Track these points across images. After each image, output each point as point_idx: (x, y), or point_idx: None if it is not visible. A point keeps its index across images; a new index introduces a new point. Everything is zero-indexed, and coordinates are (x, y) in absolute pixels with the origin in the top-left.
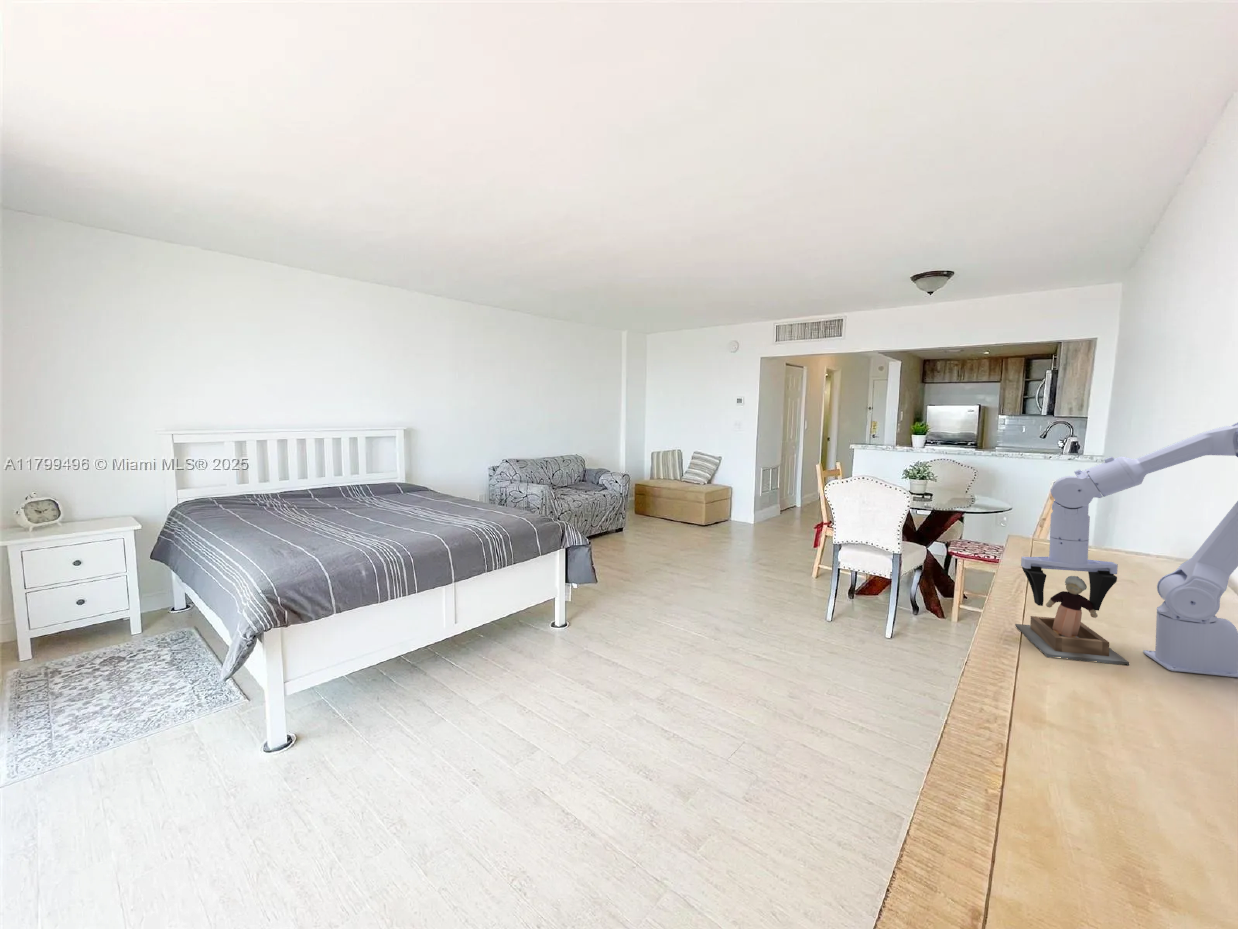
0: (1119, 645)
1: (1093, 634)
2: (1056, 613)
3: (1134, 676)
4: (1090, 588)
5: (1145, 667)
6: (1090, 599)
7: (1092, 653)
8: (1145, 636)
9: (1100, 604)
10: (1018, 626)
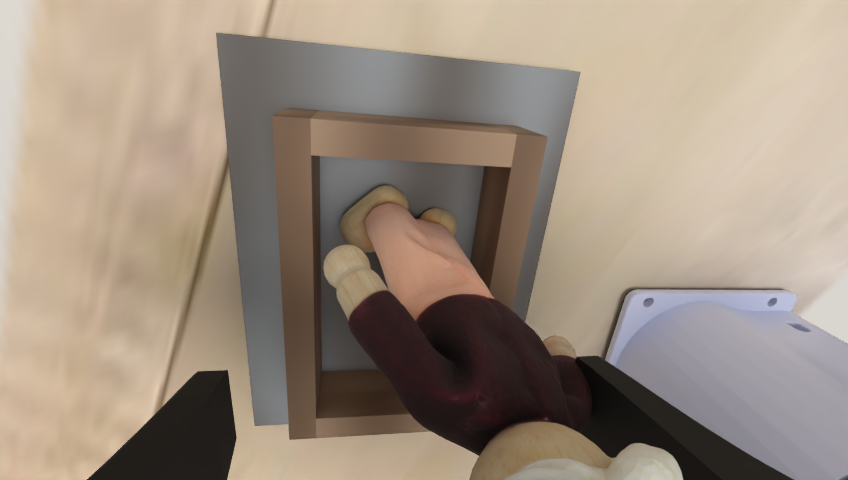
0: (606, 222)
1: None
2: (384, 272)
3: (464, 467)
4: (702, 474)
5: None
6: (613, 404)
7: None
8: (808, 72)
9: None
10: (223, 88)
